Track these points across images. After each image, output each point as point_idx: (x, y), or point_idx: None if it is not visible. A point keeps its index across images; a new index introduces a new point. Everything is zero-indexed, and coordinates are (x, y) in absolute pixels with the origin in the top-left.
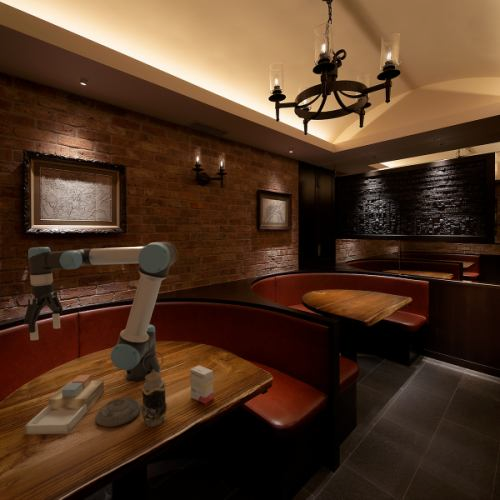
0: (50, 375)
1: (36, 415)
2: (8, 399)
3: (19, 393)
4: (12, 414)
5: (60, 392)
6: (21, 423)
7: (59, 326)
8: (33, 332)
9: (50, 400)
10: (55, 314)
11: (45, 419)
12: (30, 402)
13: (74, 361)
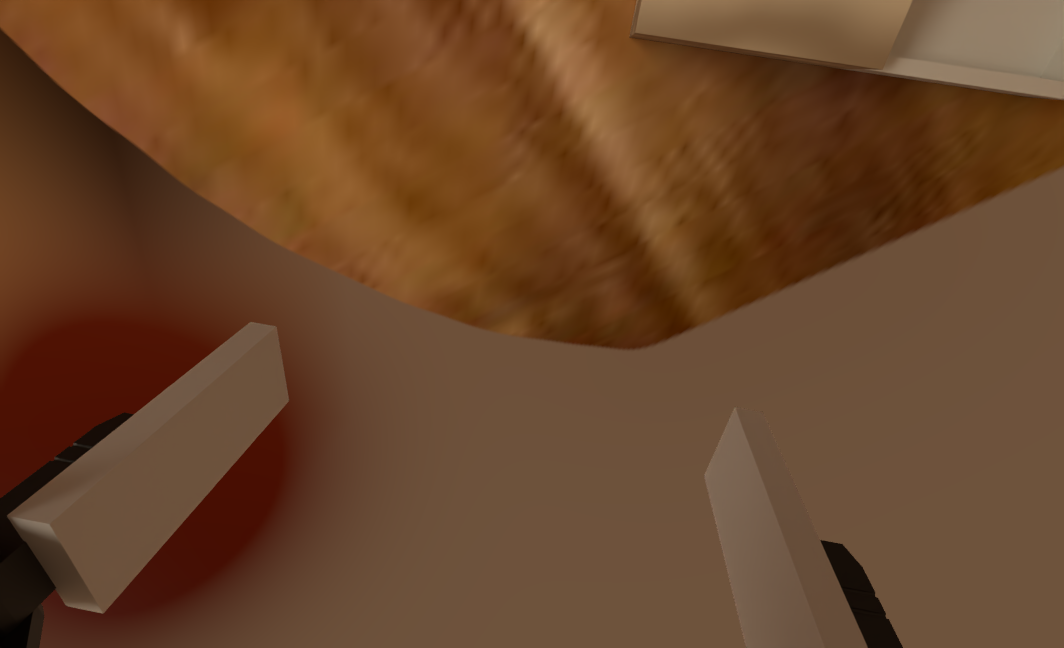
0: (399, 266)
1: (979, 85)
2: (617, 348)
3: (570, 328)
4: (774, 264)
5: (807, 22)
6: (892, 176)
7: (254, 341)
8: (836, 544)
9: (884, 53)
10: (84, 560)
11: (958, 36)
12: (680, 233)
13: (225, 205)
